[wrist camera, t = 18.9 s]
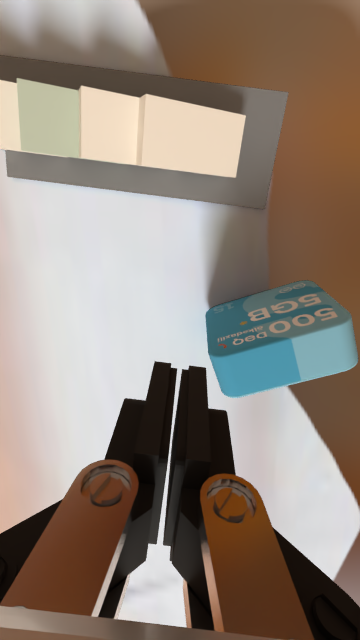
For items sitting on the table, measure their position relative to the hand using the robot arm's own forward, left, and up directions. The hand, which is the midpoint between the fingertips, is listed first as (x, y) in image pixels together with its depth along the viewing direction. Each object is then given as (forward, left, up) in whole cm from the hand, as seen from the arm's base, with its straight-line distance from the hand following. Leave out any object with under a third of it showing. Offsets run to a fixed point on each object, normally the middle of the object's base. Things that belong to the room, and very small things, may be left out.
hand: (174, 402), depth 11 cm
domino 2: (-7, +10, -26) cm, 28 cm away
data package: (+9, -6, -27) cm, 29 cm away
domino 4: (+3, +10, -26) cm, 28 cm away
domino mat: (-6, +10, -27) cm, 30 cm away
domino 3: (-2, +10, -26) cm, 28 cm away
